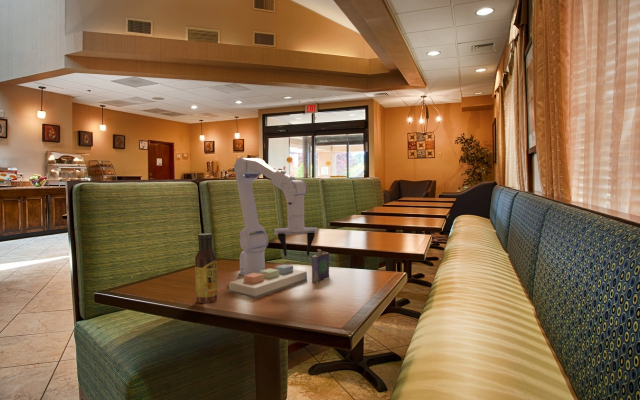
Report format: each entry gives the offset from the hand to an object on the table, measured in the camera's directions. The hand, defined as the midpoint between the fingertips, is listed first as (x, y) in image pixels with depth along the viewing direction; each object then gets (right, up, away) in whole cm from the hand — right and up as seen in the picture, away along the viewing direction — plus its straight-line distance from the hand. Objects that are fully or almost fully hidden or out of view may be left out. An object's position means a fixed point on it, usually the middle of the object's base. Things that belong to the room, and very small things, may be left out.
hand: (296, 255), depth 125 cm
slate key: (-5, -7, +3) cm, 9 cm away
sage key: (-9, -7, -3) cm, 12 cm away
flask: (+8, -9, +4) cm, 13 cm away
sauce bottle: (-26, -11, -16) cm, 32 cm away
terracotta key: (-13, -8, -8) cm, 17 cm away
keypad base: (-9, -10, -3) cm, 13 cm away
